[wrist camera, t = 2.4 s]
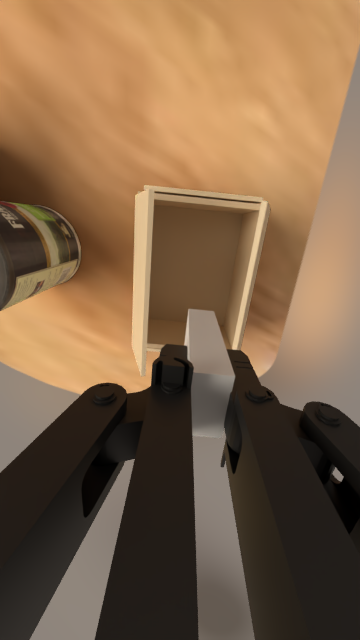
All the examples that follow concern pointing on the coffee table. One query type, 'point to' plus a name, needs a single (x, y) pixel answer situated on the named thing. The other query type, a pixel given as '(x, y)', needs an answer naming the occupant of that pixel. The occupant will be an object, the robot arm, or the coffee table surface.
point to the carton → (198, 260)
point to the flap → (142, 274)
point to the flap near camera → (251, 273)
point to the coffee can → (34, 251)
